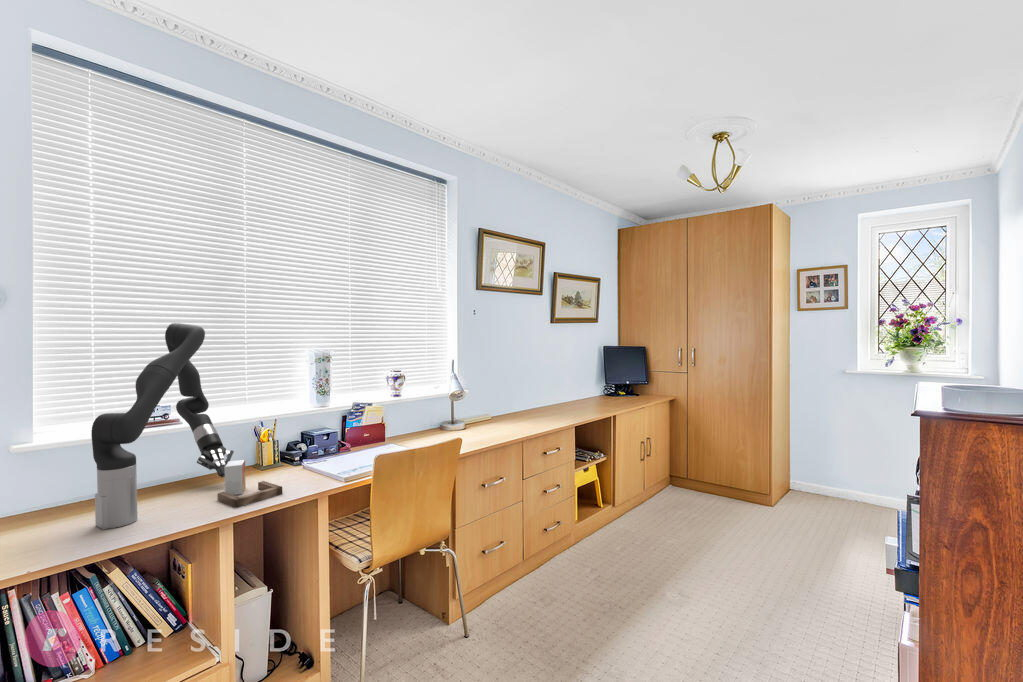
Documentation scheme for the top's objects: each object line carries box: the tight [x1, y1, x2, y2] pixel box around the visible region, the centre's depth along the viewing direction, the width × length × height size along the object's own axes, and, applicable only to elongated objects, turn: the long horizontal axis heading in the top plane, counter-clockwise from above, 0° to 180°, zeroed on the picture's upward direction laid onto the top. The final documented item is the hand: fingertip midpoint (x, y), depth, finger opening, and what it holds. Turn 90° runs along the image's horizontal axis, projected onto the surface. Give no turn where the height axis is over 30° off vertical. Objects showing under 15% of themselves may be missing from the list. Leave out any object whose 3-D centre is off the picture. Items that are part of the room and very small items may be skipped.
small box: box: [224, 459, 246, 496], centre depth 173 cm, size 8×6×10 cm
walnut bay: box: [217, 480, 283, 508], centre depth 168 cm, size 16×12×2 cm
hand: (224, 475), depth 178 cm, fingers closed
